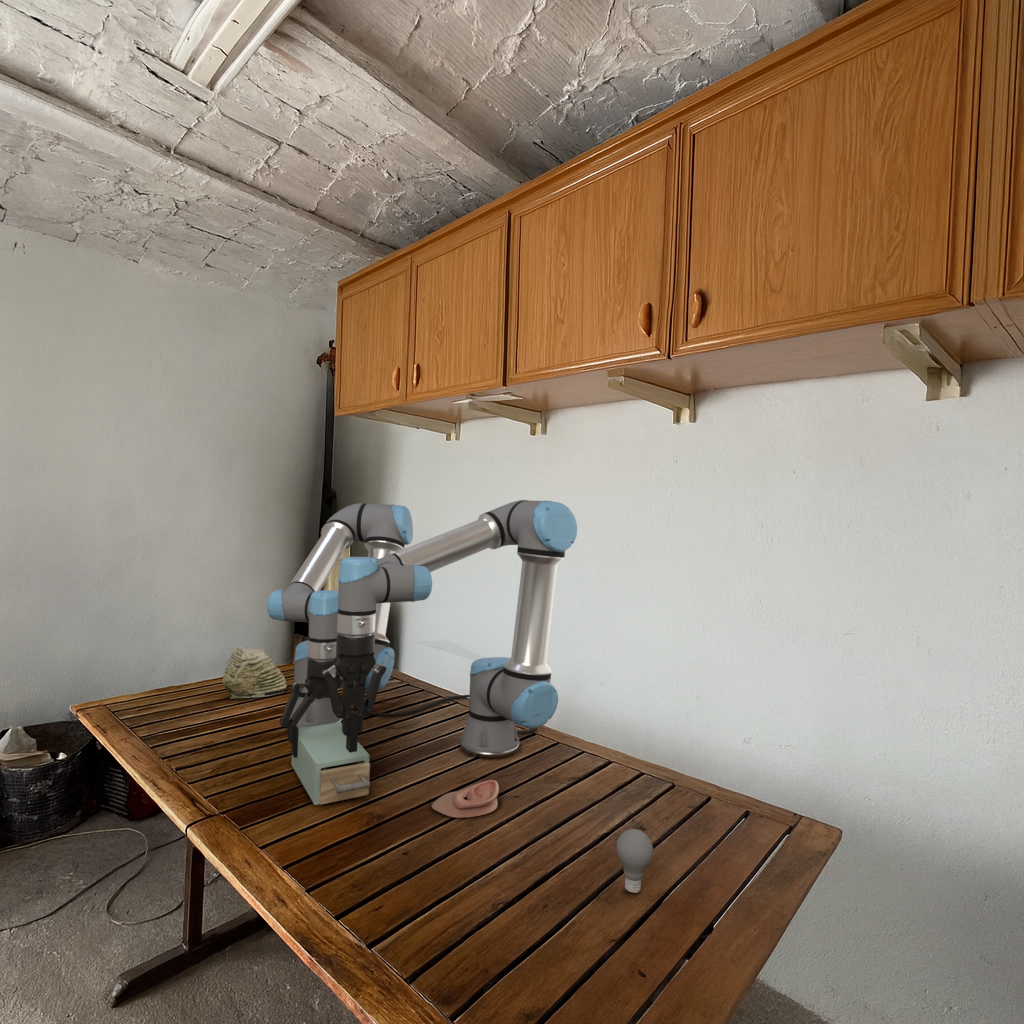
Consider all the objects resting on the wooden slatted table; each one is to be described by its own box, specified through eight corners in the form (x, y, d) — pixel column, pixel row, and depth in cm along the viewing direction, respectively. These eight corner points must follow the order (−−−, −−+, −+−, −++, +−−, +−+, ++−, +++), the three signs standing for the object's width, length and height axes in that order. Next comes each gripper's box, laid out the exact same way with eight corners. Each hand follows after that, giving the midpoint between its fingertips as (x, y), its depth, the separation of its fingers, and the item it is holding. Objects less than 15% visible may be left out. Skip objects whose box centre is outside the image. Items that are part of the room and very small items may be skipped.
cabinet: (367, 794, 136) (369, 754, 136) (314, 805, 130) (316, 764, 130) (339, 756, 154) (340, 721, 154) (291, 765, 149) (292, 728, 148)
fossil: (218, 695, 195) (220, 647, 195) (278, 685, 208) (279, 640, 207) (228, 703, 189) (230, 653, 188) (289, 692, 201) (290, 645, 201)
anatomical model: (427, 794, 128) (444, 771, 139) (426, 813, 128) (443, 788, 139) (490, 803, 125) (503, 779, 137) (489, 823, 126) (502, 797, 137)
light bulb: (610, 879, 108) (613, 822, 108) (644, 879, 109) (647, 822, 109) (619, 902, 102) (622, 840, 102) (655, 901, 103) (658, 840, 103)
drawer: (377, 805, 129) (378, 774, 129) (327, 816, 124) (329, 783, 124) (341, 758, 151) (342, 731, 151) (297, 766, 146) (298, 738, 146)
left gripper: (274, 666, 138) (270, 766, 138) (378, 656, 150) (375, 748, 151) (267, 658, 145) (264, 753, 145) (368, 649, 157) (365, 737, 157)
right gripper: (328, 640, 121) (323, 762, 122) (393, 635, 128) (388, 750, 128) (318, 632, 128) (314, 748, 128) (380, 628, 134) (376, 738, 135)
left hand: (320, 750), depth 148 cm, fingers closed on cabinet, 11 cm apart
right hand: (351, 749), depth 128 cm, fingers closed
